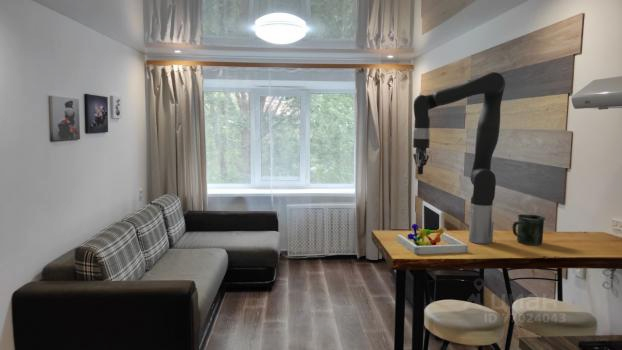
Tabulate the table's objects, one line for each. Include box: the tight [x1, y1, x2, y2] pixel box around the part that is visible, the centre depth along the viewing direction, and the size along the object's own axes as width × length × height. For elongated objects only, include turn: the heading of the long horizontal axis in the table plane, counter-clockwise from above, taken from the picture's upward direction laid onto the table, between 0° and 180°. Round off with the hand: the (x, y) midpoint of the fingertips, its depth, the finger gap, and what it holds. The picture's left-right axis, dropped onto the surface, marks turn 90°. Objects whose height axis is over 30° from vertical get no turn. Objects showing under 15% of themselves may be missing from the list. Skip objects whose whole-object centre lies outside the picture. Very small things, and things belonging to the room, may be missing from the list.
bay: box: [396, 232, 469, 255], centre depth 189 cm, size 23×20×3 cm
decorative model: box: [407, 223, 444, 246], centre depth 191 cm, size 13×9×15 cm
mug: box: [511, 213, 546, 246], centre depth 196 cm, size 11×15×12 cm
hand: (420, 174), depth 209 cm, fingers closed
